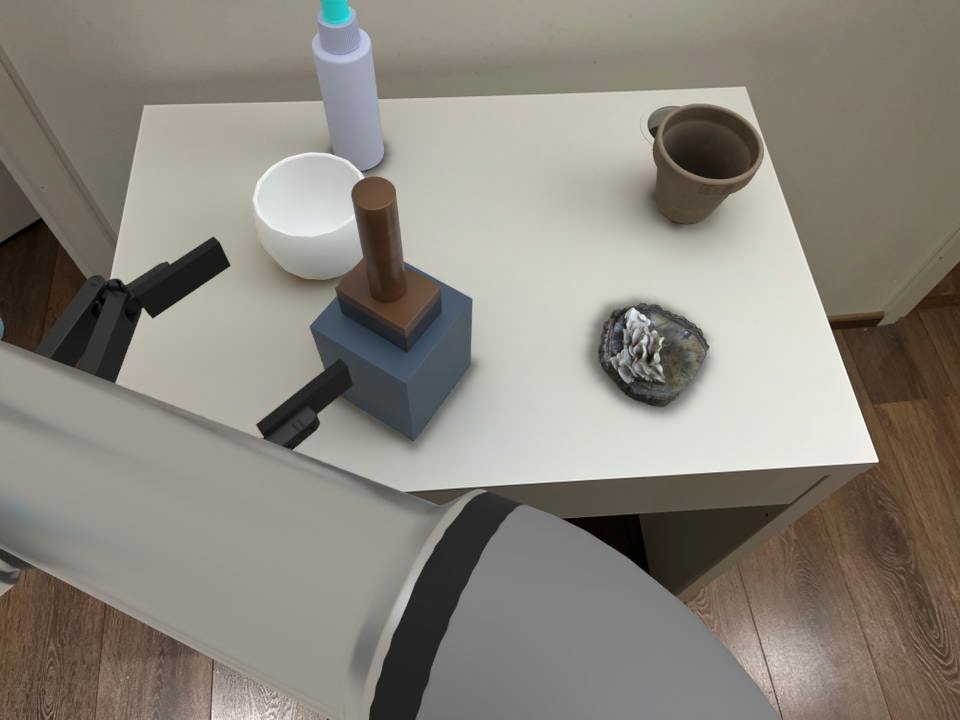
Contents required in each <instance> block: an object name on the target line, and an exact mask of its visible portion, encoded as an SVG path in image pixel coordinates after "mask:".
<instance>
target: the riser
mask: <svg viewBox="0 0 960 720" xmlns="http://www.w3.org/2000/svg"><path fill="white" fill-rule="evenodd" d="M404 266H406V267H408V268H409V269H411V270H413V271H415V272H416V273H418V274H420V275H422V276H423V277H425V278H427V279H429V280H430V281H432V282H434V283H436V284H437V285H439V286H441V303H442V311H441V313H440V314H439V315H438V316H437V318H436V319H435V320H434V321H433V322H432V324H431V325H430V326H429V327H428V328H427V330H426V331H425V332H424V333H423V334H422V336H421V337H420V338H419V339H418V341H417V342H416V343H415V344H414V345H413V347H412V348H411V349H410V350H409V351H408V352H406V351H404V350H402V349H401V348H399V347H397V346H396V345H394V344H392V343H391V342H389V341H387V340H386V339H384V338H383V337H381V336H379V335H378V334H376V333H374V332H373V331H371V330H369V329H368V328H366V327H364V326H363V325H361V324H359V323H358V322H356V321H354V320H353V319H351V318H349V317H348V316H346V315H345V314H343V313H342V312H341V309H340V305H339V302H338V298H337V295H335V297H334V299H333V300H332V301H331V302H330V303H329V304H328V305H327V306H326V307H325V308H324V310H323V311H322V312H320V314H319V315H318V316H317V317H316V318H315V319H314V321H313V322H312V323H311V324H310V325H309V330H310V332H311V336H312V338H313V341H314V344H315V346H316V350H317V352H318V355H319V358H320V360H321V363H322V366H323V369H324V370H325V369H327V368H328V367H329V366H331V365H332V364H333V363H334V362H336V361H337V360H338V359H339V358H340V359H341V360H342V361H343V362H344V363H345V364H346V365H347V366H348V369H349V373H350V376H351V379H352V383H353V386H351V387H350V388H349V389H348V390H346V391H345V392H344V393H343V394H342V395H340V397H342V398H344V399H346V400H347V401H349V402H350V403H352V404H353V405H355V406H357V407H358V408H360V409H362V410H363V411H364V412H366V413H368V414H370V415H372V416H374V417H375V418H376V419H377V420H379V421H382V422H383V423H384V424H386V425H388V426H389V427H391V428H392V429H394V430H395V431H397V432H399V433H401V434H402V435H404V436H406V437H407V438H408V439H410V440H412V441H416V440H417V438H418V437H419V436H420V434H421V433H422V431H423V430H424V428H425V427H426V426H427V425H428V423H429V422H430V421H431V419H432V418H433V416H434V415H435V414H436V413H437V411H438V410H439V408H440V407H441V406H442V404H443V403H444V402H445V400H446V399H447V397H448V396H449V395H450V394H451V392H452V391H453V389H455V387H456V385H457V384H458V383H459V381H460V380H461V379H462V377H463V376H464V374H465V373H466V372H467V371H468V369H469V368H470V366H471V365H472V364H471V363H472V332H473V331H472V329H473V303H474V302H473V300H474V299H473V298H472V297H470V296H468V295H466V294H465V293H464V292H461V291H459V290H458V289H456V288H454V287H452V286H451V285H448V284H447V283H445V282H442V281H441V280H439V279H438V278H435V277H434V276H432V275H430V274H428V273H426V271H425V272H424V271H423V270H421V269H419V268H417V267H416V266H414V265H412V264H409V263H408V262H406V261H404Z"/></svg>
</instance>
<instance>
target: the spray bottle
mask: <svg viewBox="0 0 960 720" xmlns="http://www.w3.org/2000/svg"><path fill="white" fill-rule="evenodd" d="M320 6H321V8H320V9H319V10H318V11H317V14H316V22H317V28H318V32H317V33H316V34H315V35H314V37H313V38H312V41H311V51H312V52H311V53H312V56H313V62H314V67H315V71H316V76H317V81H318V85H319V90H320V94H321V99H322V104H323V108H324V109H323V110H324V113H325V118H326V123H327V127H328V132H329V133H328V134H329V137H330V138H329V139H330V143H331V147H332V152H333V155H335V156H337V157H340V158H343V159H345V160H348V161H349V162H350V163H351V164H353V165H354V166H355V167H356V168H357V169H358V170H359V171H360V172H363V171H364V172H365V171H368V170H370V169H373V168H375V167H376V166H377V165H379V164H380V163H381V162H382V160H383V158H384V155H385V144H384V136H383V129H382V120H381V113H380V104H379V103H380V102H379V96H378V88H377V79H376V73H375V64H374V56H373V48H372V40H371V38H370V36H369V34H368V33H367V32H366V31H365V30H363V29H362V28H360V27H359V22H358V19H357V18H358V17H357V13H356V11H355V9H354V8H353V7H352V6H350V5H349V3H348V0H320Z"/></svg>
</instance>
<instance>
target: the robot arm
mask: <svg viewBox="0 0 960 720" xmlns="http://www.w3.org/2000/svg"><path fill="white" fill-rule="evenodd" d="M230 267H231V263H230V261H229V259H228V257H227V254H226V252H225V250H224V248H223V246H222V244H221V242H220V241H219V240H218V239H217V238H216V237H215V236H212V237H210V238H208V239H207V240H205V241H204V242H202V243H201V244H199V245H197V246H196V247H195V248H193V249H192V250H190V251H188V252H187V253H185V254H184V255H182V256H181V257H179V258H178V259H176V260H175V261H173V262H171V263H170V262H169V261H164V262H160V263H158V264H157V265H155V266H154V267H152V268H150V269H149V270H147V272H144V273H143V274H141V275H140V276H138V277H136V278H135V279H133V280H131V282H129V283H127V284H125V283H124V282H123V280H122V279H120V278H117V277H116V278H110V279H109V280H106V278H105V277H104V276H102V275H100V274H95V275H94V274H93V275H91V276H90V277H88V278H87V279H86V280H85V282H84V284H83V285H82V286H81V287H80V288H79V290H78V291H77V293H76V294H75V295H74V297H73V298H72V299H71V301H70V302H69V304H68V305H67V306H66V308H65V309H64V310H63V312H62V313H61V314H60V316H59V317H58V318H57V320H56V321H55V323H54V324H53V325H52V326H51V328H50V329H49V330H48V331H47V333H46V334H45V336H44V337H43V339H41V341H40V343H39V344H38V345H37V347H36V348H35V350H33V351H30V350H27V349H25V348H22V347H20V346H17V345H15V344H11V343H9V342H7V341H3V340H2V338H3V337H4V330H5V325H4V322H3V320H2V318H1V317H0V597H2V596H3V595H4V594H5V593H7V592H8V591H9V590H10V589H12V588H13V587H14V586H16V585H17V584H18V583H19V581H20V579H21V578H20V577H21V571H29V570H30V571H31V570H37V569H39V570H41V571H43V572H45V573H47V574H49V575H51V576H53V577H55V578H57V579H58V580H61V581H62V582H64V583H66V584H68V585H70V586H72V587H73V588H76V589H78V590H79V591H82V592H83V593H86V594H87V595H89V596H91V597H93V598H95V599H97V600H99V601H101V602H103V603H105V604H106V605H109V606H111V607H112V608H114V609H116V610H118V611H120V612H122V613H124V614H125V615H127V616H130V617H132V618H133V619H136V620H137V621H139V622H140V623H143V624H145V625H147V626H149V627H151V628H153V629H154V630H157V631H158V632H160V633H162V634H163V635H166V636H168V637H170V638H172V639H174V640H176V641H177V642H180V643H181V644H183V645H185V646H187V647H188V648H191V649H193V650H195V651H198V653H200V654H202V655H205V656H206V657H208V658H211V659H212V660H214V661H216V662H217V663H220V664H221V665H224V666H226V667H227V668H229V669H230V670H231V669H232V670H234V671H235V672H237V673H239V674H241V675H243V676H245V677H247V678H248V679H250V680H253V681H254V682H256V683H259V684H260V685H262V686H264V687H266V688H268V689H270V690H272V691H274V692H276V693H278V694H279V695H281V696H283V697H286V698H287V699H289V700H292V701H293V702H295V703H297V704H299V705H301V706H302V707H305V708H306V709H308V710H311V711H312V712H314V713H316V714H318V715H320V716H322V717H324V718H326V719H328V720H783V718H782V717H781V716H780V714H779V713H778V711H777V710H776V709H775V707H774V705H772V703H771V701H770V700H769V699H768V698H767V696H766V695H765V693H764V692H763V691H762V689H761V688H760V686H759V685H758V683H757V682H756V681H755V680H754V679H753V677H752V676H751V675H750V674H749V672H748V671H747V670H746V669H745V668H744V667H743V666H742V664H741V663H740V661H739V660H737V659H736V657H735V656H734V655H733V653H732V652H731V651H730V650H729V648H727V646H726V645H724V643H722V641H721V640H720V639H719V638H718V637H717V636H716V634H714V633H713V632H712V631H711V630H710V629H709V628H708V627H707V626H706V625H705V623H703V621H701V620H700V618H699V617H698V616H696V615H695V613H694V612H693V611H692V610H691V609H690V608H689V607H688V606H687V605H686V604H685V603H684V602H682V600H681V599H679V598H678V597H676V596H675V595H674V594H673V593H672V592H670V591H669V590H668V589H667V588H666V587H664V586H663V585H662V584H660V582H658V581H657V580H656V579H655V578H653V577H652V576H651V575H649V574H648V573H647V572H646V571H645V570H644V569H642V568H641V567H639V566H638V565H637V564H636V563H634V562H633V561H632V560H631V559H630V558H629V557H628V556H626V555H625V554H622V553H621V552H620V551H618V550H617V549H615V548H614V547H612V546H610V545H608V544H607V543H606V542H604V541H603V540H600V539H599V538H597V537H596V536H595V535H593V534H592V533H590V532H588V531H587V530H585V529H583V528H581V527H579V526H577V525H574V524H573V523H570V522H569V521H567V520H564V519H562V518H560V517H558V516H556V515H554V514H552V513H549V512H546V511H544V510H541V509H538V508H536V507H533V506H531V505H528V504H524V503H522V502H519V501H517V500H513V499H511V498H507V497H505V496H502V495H500V494H497V493H495V492H491V491H488V490H485V489H483V488H482V489H480V488H476V489H473V490H470V491H468V492H466V493H465V494H462V495H461V496H458V497H456V498H455V499H453V500H451V501H449V502H447V503H443V504H437V503H434V502H431V501H429V500H426V499H423V498H420V497H418V496H416V495H413V494H411V493H407V492H405V491H402V490H399V489H397V488H395V487H391V486H389V485H386V484H384V483H382V482H378V481H376V480H373V479H370V478H368V477H365V476H362V475H360V474H357V473H354V472H352V471H349V470H346V469H343V468H341V467H338V466H336V465H334V464H330V463H328V462H325V461H322V460H320V459H318V458H315V457H312V456H309V455H306V454H303V453H301V452H299V451H295V449H296V448H297V447H298V446H300V445H301V444H302V443H303V442H304V441H306V440H307V439H308V438H309V437H311V436H312V435H313V434H314V433H315V432H317V431H318V429H319V427H320V425H321V420H320V418H319V415H318V414H320V413H321V412H322V411H323V410H325V409H326V408H327V407H328V406H329V405H331V404H332V403H333V402H334V401H336V400H337V399H339V397H341V395H342V394H343V393H344V392H345V391H346V390H348V389H349V388H350V387H351V386H353V383H352V379H351V376H350V373H349V369H348V366H347V365H346V364H345V363H344V362H343V361H342V360H341V359H340V358H339V359H338V360H337V361H336V362H334V363H333V364H332V365H331V366H329V367H328V368H327V369H324V370H323V371H321V372H320V373H319V374H318V375H317V376H315V377H314V378H313V379H311V380H310V381H309V382H308V383H306V384H305V385H304V386H303V387H301V388H300V389H299V390H297V391H296V392H295V393H293V394H292V395H291V396H290V397H289V398H287V399H286V400H285V401H284V402H282V403H281V404H279V406H277V407H276V408H275V409H273V410H272V411H271V412H269V413H268V414H267V415H266V416H265V417H263V418H262V419H260V421H258V422H257V423H256V424H255V426H256V428H257V429H258V431H259V433H260V434H261V436H262V437H258V436H256V435H253V434H250V433H248V432H245V431H244V430H243V431H242V430H240V429H237V428H235V427H232V426H229V425H227V424H224V423H222V422H218V421H216V420H214V419H211V418H208V417H205V416H203V415H200V414H198V413H195V412H192V411H189V410H187V409H185V408H181V407H179V406H176V405H174V404H171V403H168V402H166V401H163V400H160V399H157V398H155V397H152V396H151V395H148V394H144V393H142V392H139V391H136V390H134V389H131V388H128V387H126V386H123V385H120V384H118V383H117V380H118V377H119V375H120V373H121V369H122V366H123V364H124V361H125V358H126V356H127V353H128V351H129V348H130V345H131V342H132V340H133V337H134V334H135V333H136V329H137V326H138V324H139V321H140V318H141V315H142V312H143V309H144V310H145V312H146V313H147V315H149V316H150V318H151V319H155V318H156V317H158V316H159V315H160V314H162V313H164V312H165V311H167V310H168V309H170V308H171V307H173V306H174V305H175V304H177V303H178V302H180V301H182V300H183V299H185V298H186V297H187V296H189V295H190V294H192V293H193V292H195V291H197V290H198V289H199V288H201V287H202V286H204V285H205V284H206V283H208V282H210V281H211V280H212V279H214V278H215V277H217V276H218V275H219V274H221V273H222V272H224V271H225V270H227V269H229V268H230ZM79 361H80V363H79ZM78 363H79V365H78V368H75V367H76V366H77V364H78Z"/></svg>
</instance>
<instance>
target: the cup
mask: <svg viewBox="0 0 960 720" xmlns="http://www.w3.org/2000/svg"><path fill="white" fill-rule="evenodd" d="M364 178H365V176H364V175H363V172H362V171H359V170H358V169H357V168H356V167H355V166H354V165H353V164H351V163H350V162H349V161H348V160H345V159H343V158H340V157H337V156H335V155H334V154H331V153H330V152H328V153H327V152H311V151H310V152H303V153H299V154H295V155H291V156H288V157H285V158H283V159H282V160H280V161H278V162H276V163H274V164H273V165H271V166H270V167H268V169H266V171H265V172H264V174H262V175H261V176H260V178H259V179H258V180H257V181H256V182H255V183H256V184H255V188H254V191H253V194H252V199H251V214H252V215H251V216H252V220H253V224H254V227H255V230H256V234H257V236H258V239H259V241H260V243H261V246H262V248H263V249H264V250H265V251H266V253H267V254H268V255H270V257H272V259H273V260H274V261H276V263H277V264H278V265H279V266H280V267H281V268H282V269H283V270H284V271H286V272H288V273H290V274H292V275H294V276H297V277H299V278H302V279H305V280H306V279H307V280H324V281H325V280H326V281H327V280H330V279H331V280H332V279H334V278H338V277H342V276H344V275H346V274H348V273H349V272H350V271H351V270H352V269H353V268H354V267H355V266H356V265H357V264H358V263H359V262H360V261H361V259H362V258H363V254H362V249H361V244H360V239H359V234H358V229H357V223H356V218H355V213H354V208H353V203H352V198H351V192H352V189H353V187H354V185H355V184H356V183H357V182H358V181H360V180H362V179H364Z"/></svg>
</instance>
